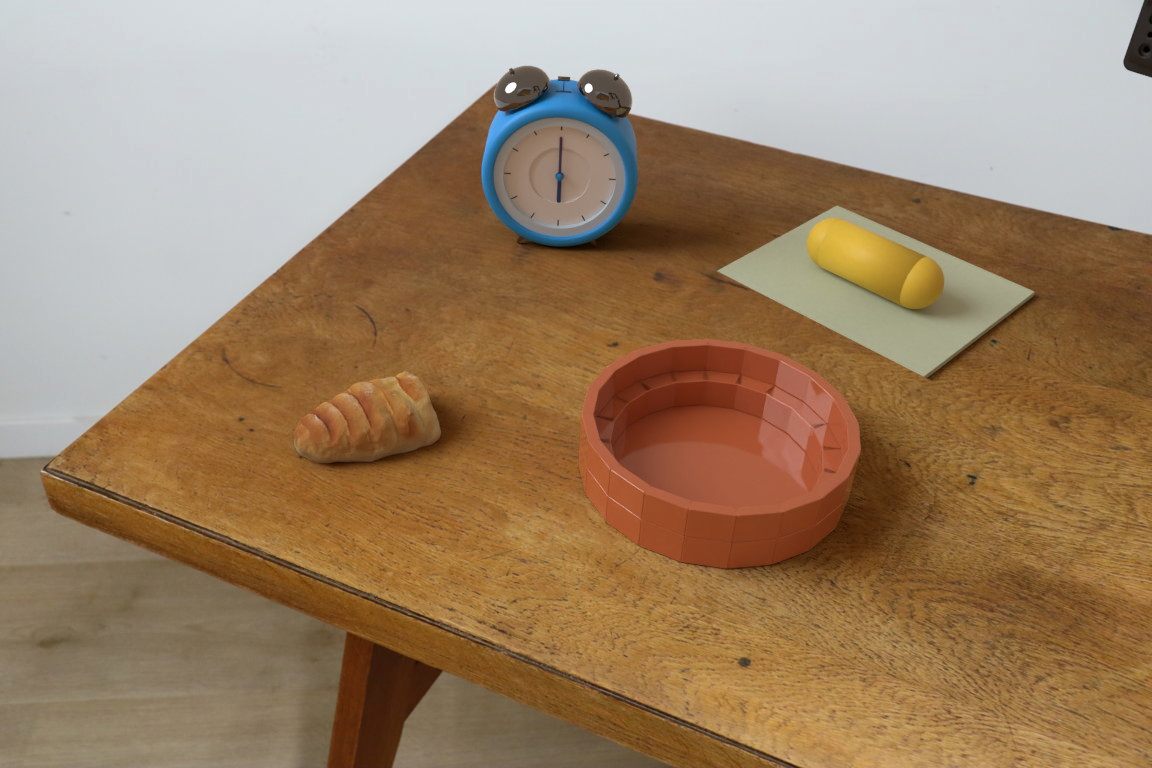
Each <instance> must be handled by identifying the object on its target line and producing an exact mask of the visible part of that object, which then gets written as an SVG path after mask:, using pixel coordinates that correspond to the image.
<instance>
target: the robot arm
mask: <svg viewBox="0 0 1152 768" xmlns="http://www.w3.org/2000/svg"><path fill="white" fill-rule="evenodd" d="M1122 61H1123V62H1122V63H1123V66H1124V69H1126V70H1127V71H1129V72H1132V73H1134V74H1138V75H1141V76H1145V77H1147V78H1152V0H1143V3H1142V4H1141V8H1140V10H1139V14H1138V17H1137V20H1136V23H1135V26H1134V29H1133V30H1132V34H1131V37H1130V40H1129V43H1128V46H1127V49H1126V52H1125V55H1124V57H1123V60H1122Z"/></svg>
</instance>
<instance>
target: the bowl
mask: <svg viewBox="0 0 1152 768" xmlns="http://www.w3.org/2000/svg"><path fill="white" fill-rule="evenodd" d="M581 409H582V410H581V414H580V428H579V429H580V430H579V446H578V463H577V465H578V470H579V474H580V478H581V482H582V488H583V491H584V494H585V495H586V497H587V499H588V500H589V501H590V502H591V504H592V505H593V507H594V508H595V509H596V511H597V512H598V513H599V515H600V516H601V517H602V518H603V520H604V521H605V522H606V523H607V525H609V526H611V527H612V528H613V529H615V530H616V531H618V532H619V533H621V534H622V535H624V537H626V538H628V539H629V540H630V541H631V542H633V543H634V544H636V545H637V546H639V547H641V548H644V549H646V550H649V551H652V552H654V553H656V554H659V555H662V556H664V557H666V558H669V559H671V560H675V561H677V562H680V563H684V564H685V563H686V564H691V565H698V566H704V567H711V568H717V569H718V568H719V569H726V570H727V569H738V568H740V569H741V568H750V567H760V566H771V565H775V564H778V563H780V562H783V561H785V560H788V559H791V558H793V557H796V556H799V555H802V554H805V553H807V552H809V551H811V550H812V549H813V548H815V546H817V545H818V544H819V543H820V542H821V541H823V540H824V539H825V538H827V536H829V535H830V534H832V532H833V531H834V530H836V528H837V527H838V524H839V522H840V520H841V518H842V515H843V514H844V511H845V509H846V507H847V505H848V502H849V500H850V499H849V498H850V495H851V491H852V487H853V483H854V479H855V476H856V471H857V469H858V465H859V461H860V457H861V452H862V445H861V432H860V423H859V421H858V419H857V417H856V416H855V413H854V412H853V410H852V409H851V407H850V404H849V403H848V402H847V400H846V398H845V396H844V395H843V394H842V393H841V392H840V391H838V390H837V389H836V388H835V387H834V386H833V385H832V384H831V383H829V382H828V381H827V379H826V378H824V377H823V376H822V375H821V374H820V373H818V372H816V371H814V370H813V369H811V368H809V367H808V366H805V365H803V364H802V363H800V362H798V361H796V360H794V359H793V358H791V357H788V356H787V355H785V354H783V353H779V352H775V351H773V350H769V349H767V348H763V347H759V346H757V345H754V344H750V343H746V342H738V341H731V340H723V339H714V338H696V339H693V338H692V339H678V340H668V341H663V342H660V343H656V344H652V345H649V346H644V347H642V348H637V349H633V350H632V351H630V352H628V353H626V354H625V355H622V356H621V357H619V358H618V359H616V360H614V361H612V362H611V363H609V364H607V365H606V366H605V367H604V368H603V369H602V371H601V372H600V373H599V374H598V375H597V377H595V379H594V380H593V381H592V383H590V385H589V386H588V387H587V389H586V393H585V397H584V401H583V405H582V408H581Z"/></svg>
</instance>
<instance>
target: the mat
mask: <svg viewBox="0 0 1152 768" xmlns="http://www.w3.org/2000/svg"><path fill="white" fill-rule="evenodd" d="M828 218H840V219H843V220H846V221H848V222H850V223H853V224H855V225H857V226H859V227H862V228H864V229H866V230H868V231H871V232H873V233H875V234H877V235H880V236H882V237H884V238H887V239H889V240H891V241H893V242H896V243H898V244H900V245H902V246H905V247H907V248H909V249H911V250H914V251H916V252H918V253H920V254H923V255H925V256H927V257H929V258H931V259H933V260H934V261H935V262H936V263H938V265H939V266H940V268H941V269H942V272H943V274H944V288H943V291H942V293H941V295H940V297H939V298H938V299H937V300H936V301H935V302H934V303H933V304H931V305H929V306H927V307H925V308H921V309H909V308H906V307H903V306H901V305H899V304H897V303H894V302H892V301H890V300H888V299H886V298H884V297H882V296H880V295H878V294H876V293H873V292H871V291H869V290H867V289H865V288H863V287H861V286H859V285H857V284H855V283H852V282H850V281H848V280H846V279H844V278H842V277H840V276H838V275H836V274H833V273H831V272H829V271H827V270H825V269H823V268H821V267H819V266H818V265H816V264H815V263H814V262H813V261H812V260H811V258H810V256H809V254H808V251H807V238H808V235H809V233H810V231H811V230H812V228H813V227H814V226H815V225H816V224H817V223H819V222H820V221H822V220H825V219H828ZM717 272H718V273H720V274H722V275H724V276H726V277H727V278H729V279H732V280H733V281H735V282H737V283H739V284H741V285H743V286H745V287H747V288H750V289H751V290H753V291H755V292H757V293H759V294H761V295H763V296H765V297H766V298H769V299H771V300H773V301H774V302H776V303H778V304H781V305H782V306H783V307H786V308H788V309H790V310H792V311H794V312H796V313H798V314H800V315H802V316H804V317H806V318H808V319H810V320H812V321H814V322H816V323H818V324H820V325H822V326H824V327H825V328H828V329H829V330H831V331H833V332H835V333H837V334H838V335H841V336H843V337H845V338H847V339H849V340H850V341H853V342H855V343H856V344H859V345H861V346H863V347H865V348H866V349H868V350H871V351H873V352H874V353H876V354H878V355H880V356H882V357H884V358H886V359H888V360H890V361H892V362H893V363H896V364H898V365H900V366H902V367H903V368H906V369H908V370H910V371H912V372H914V373H916V374H918V376H919V375H920V376H922V377H924V378H925V379H928V378H930V376H932V375H933V374H934V373H936V372H937V371H939V370H940V369H941V368H942V367H943V366H945V365H946V364H947V363H948V362H950V361H952V360H953V359H954V358H955V357H957V356H958V355H959V354H960V353H962V352H963V351H964V350H966V349H967V348H969V347H970V346H972V344H974V343H975V342H976V341H978V339H980V338H981V337H983V336H984V335H985V334H987V333H989V332H990V331H991V330H992V329H993V328H994V327H996V326H997V325H999V323H1001V322H1002V321H1003V320H1005V319H1007V317H1009V316H1010V315H1012V314H1013V313H1014V312H1015V311H1017V310H1018V309H1019V308H1021V307H1022V306H1023V305H1025V303H1027V302H1029V300H1031V299H1032V298H1033V297H1034V295H1035V293H1036V292H1035V290H1032V289H1029V288H1027V287H1025V286H1023V285H1021V284H1018V283H1016V282H1013V281H1011V280H1009V279H1006V278H1004V277H1002V276H1000V275H998V274H996V273H993V272H991V271H988V270H986V269H985V268H983V267H982V268H981V267H979V266H977V265H975V264H972V263H970V262H967V261H966V260H963V259H961V258H958V257H956V256H954V255H951V254H950V253H947V252H946V251H945V252H944V251H942V250H940V249H938V248H937V247H933V246H931V245H929V244H926V243H924V242H922V241H920V240H917V239H915V238H913V237H910V236H908V235H907V234H903V233H901V232H899V231H898V230H894V229H892V228H890V227H888V226H885V225H883V224H881V223H879V222H877V221H874V220H871V219H869V218H868V217H867V218H866V217H865V216H863V215H860V214H858V213H856V212H853V211H851V210H848V209H847V208H844V207H842V206H840V205H835V206H833V207H832V208H829V209H828V210H825V211H824V212H822V213H820V214H818V215H817V216H815V217H813V218H811V219H810V220H808V221H805V222H804V223H802V224H800V225H798V226H797V227H795V228H793V229H791V230H789V231H787V232H786V233H784V234H781V235H779V236H778V237H776V238H774V239H773V240H770V241H769V242H767V243H766V244H763V245H761V246H760V247H758V248H756V249H754V250H753V251H751V252H748V253H747V254H745V255H743V256H742V257H740V258H738V259H736V260H734V261H733V262H730V263H729V264H727V265H725V266H723V267H721V268H720V269H718V270H717Z"/></svg>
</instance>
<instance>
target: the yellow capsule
mask: <svg viewBox="0 0 1152 768" xmlns="http://www.w3.org/2000/svg"><path fill="white" fill-rule="evenodd" d="M807 251H808V254H809V256H810V258H811V260H812V261H813V262H814V263H815V264H816V265H818V266H819V267H821V268H823V269H825V270H827V271H829V272H831V273H833V274H836V275H838V276H840V277H842V278H844V279H846V280H848V281H850V282H852V283H855V284H857V285H859V286H861V287H863V288H865V289H867V290H869V291H871V292H873V293H876V294H878V295H880V296H882V297H884V298H886V299H888V300H890V301H892V302H894V303H897V304H899V305H901V306H903V307H906V308H909V309H921V308H925V307H927V306H929V305H931V304H933V303H934V302H935V301H936V300H937V299H938V298H939V297H940V295H941V293H942V291H943V288H944V274H943V272H942V269H941V268H940V266H939V265H938V263H936V262H935V261H934V260H933V259H931V258H929V257H927V256H925V255H923V254H920V253H918V252H916V251H914V250H911V249H909V248H907V247H905V246H902V245H900V244H898V243H896V242H893V241H891V240H889V239H887V238H884V237H882V236H880V235H877V234H875V233H873V232H871V231H868V230H866V229H864V228H862V227H859V226H857V225H855V224H853V223H850V222H848V221H846V220H843V219H840V218H828V219H825V220H822V221H820V222H819V223H817V224H816V225H815V226H814V227H813V228H812V230H811V231H810V233H809V235H808V238H807Z"/></svg>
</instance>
